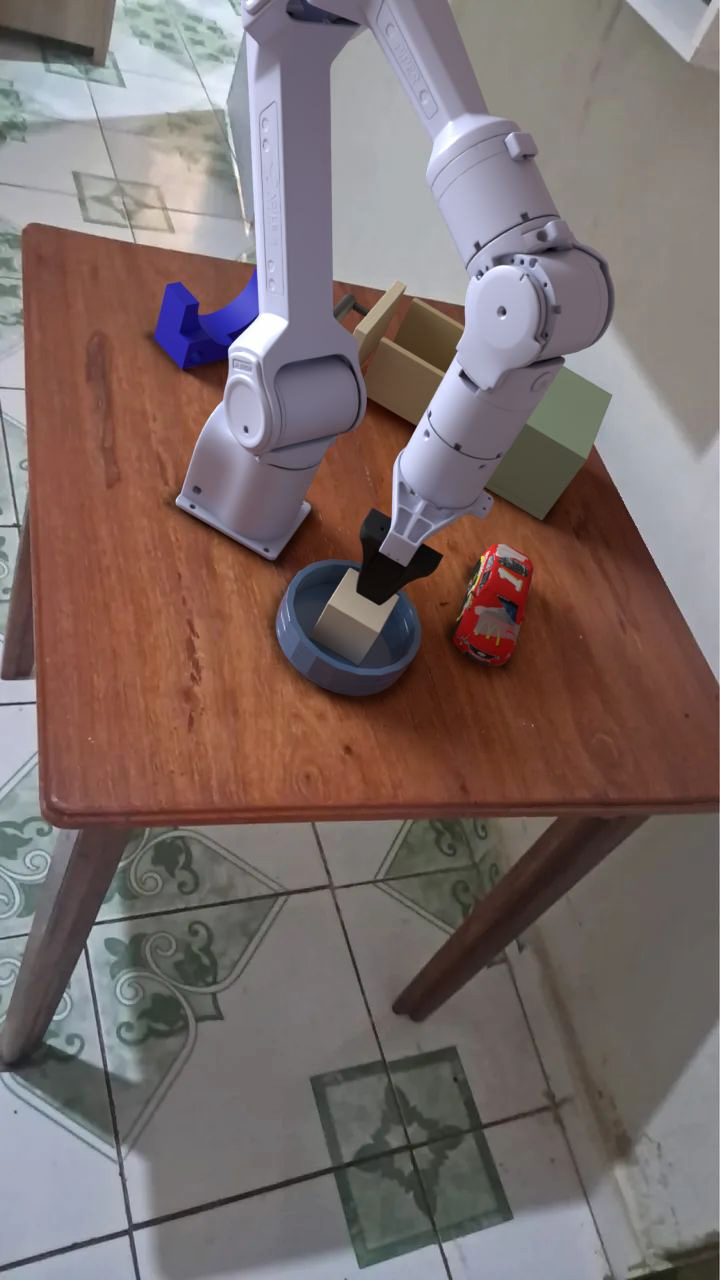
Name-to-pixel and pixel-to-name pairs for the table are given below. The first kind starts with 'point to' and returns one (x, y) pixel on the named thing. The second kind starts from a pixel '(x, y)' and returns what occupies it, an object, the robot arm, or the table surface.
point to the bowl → (328, 666)
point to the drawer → (403, 351)
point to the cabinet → (551, 444)
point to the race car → (494, 606)
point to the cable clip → (203, 324)
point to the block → (351, 620)
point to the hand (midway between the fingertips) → (387, 563)
